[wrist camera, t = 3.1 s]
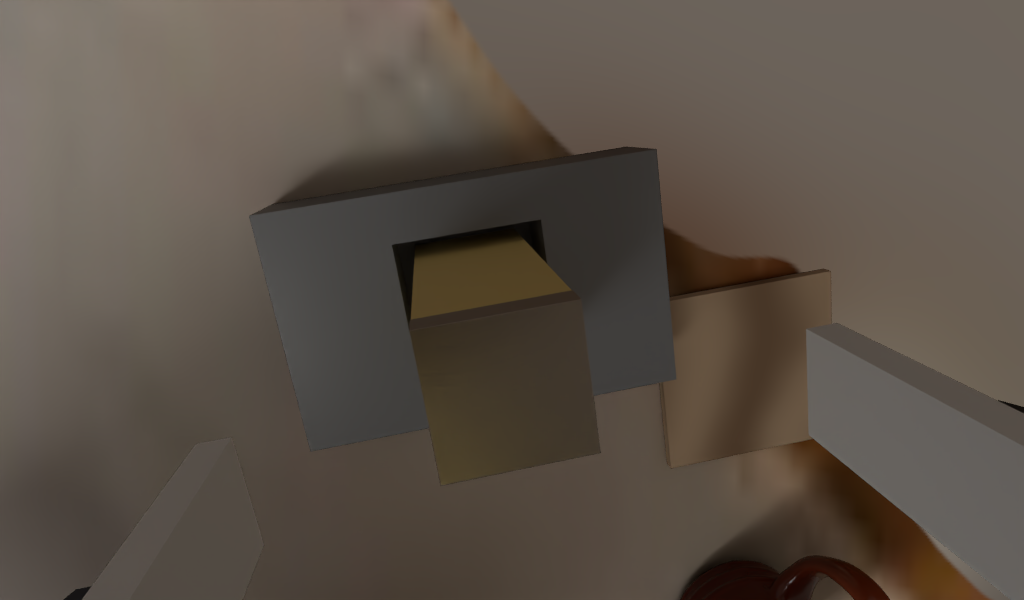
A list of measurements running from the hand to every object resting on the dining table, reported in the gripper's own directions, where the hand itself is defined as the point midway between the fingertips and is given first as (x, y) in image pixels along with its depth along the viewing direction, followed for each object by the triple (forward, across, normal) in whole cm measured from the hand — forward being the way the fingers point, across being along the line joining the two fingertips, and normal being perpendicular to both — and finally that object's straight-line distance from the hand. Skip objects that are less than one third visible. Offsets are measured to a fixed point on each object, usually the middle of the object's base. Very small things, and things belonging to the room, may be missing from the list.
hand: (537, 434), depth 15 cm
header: (+16, 0, 0) cm, 16 cm away
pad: (+16, +12, -7) cm, 22 cm away
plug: (+16, 0, 0) cm, 16 cm away
